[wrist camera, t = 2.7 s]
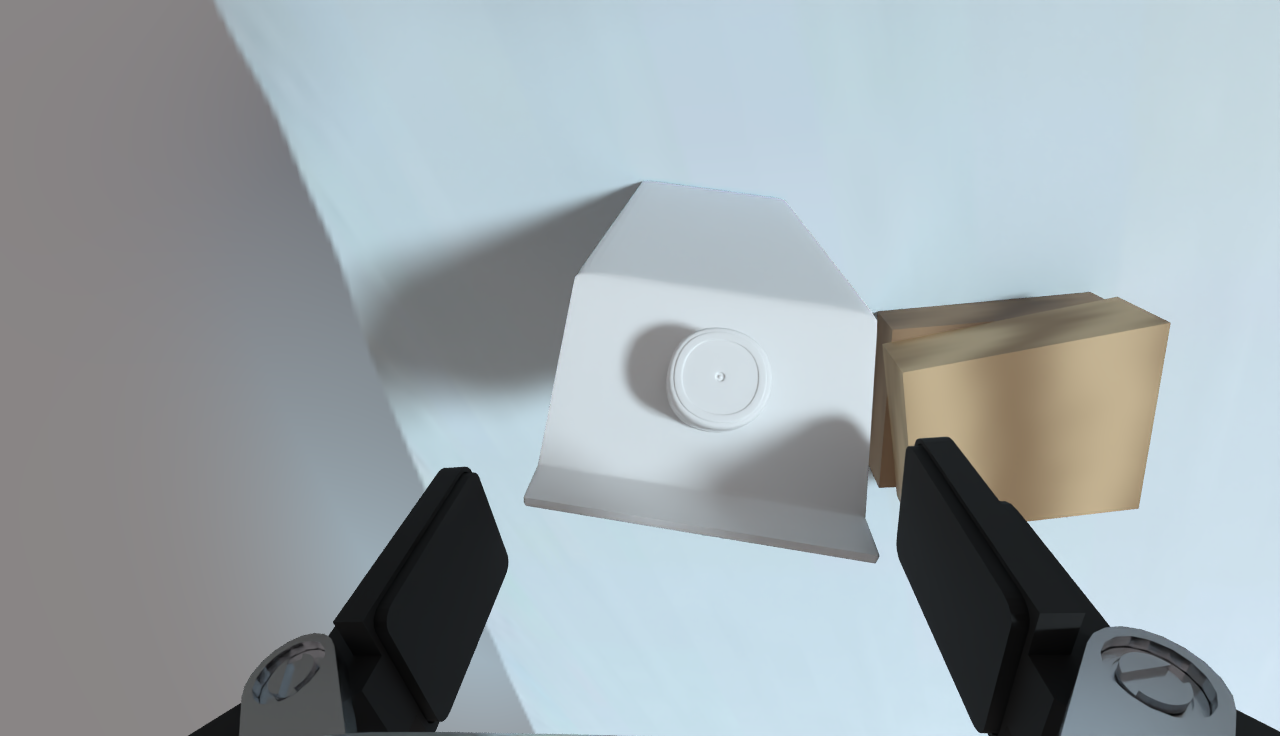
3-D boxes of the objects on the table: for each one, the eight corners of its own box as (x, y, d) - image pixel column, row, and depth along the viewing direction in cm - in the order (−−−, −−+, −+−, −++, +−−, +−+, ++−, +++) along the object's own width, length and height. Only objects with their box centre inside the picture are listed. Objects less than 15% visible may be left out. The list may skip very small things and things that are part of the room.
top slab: (1117, 296, 23) (1170, 322, 20) (1096, 468, 27) (1138, 508, 25) (882, 344, 25) (902, 372, 23) (896, 495, 30) (915, 534, 27)
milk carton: (754, 330, 28) (826, 667, 12) (628, 311, 29) (522, 613, 12) (786, 198, 25) (953, 408, 8) (642, 178, 25) (522, 342, 8)
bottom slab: (1082, 288, 26) (1125, 310, 23) (1041, 447, 30) (1073, 480, 28) (874, 307, 27) (892, 329, 25) (864, 455, 32) (878, 487, 29)
